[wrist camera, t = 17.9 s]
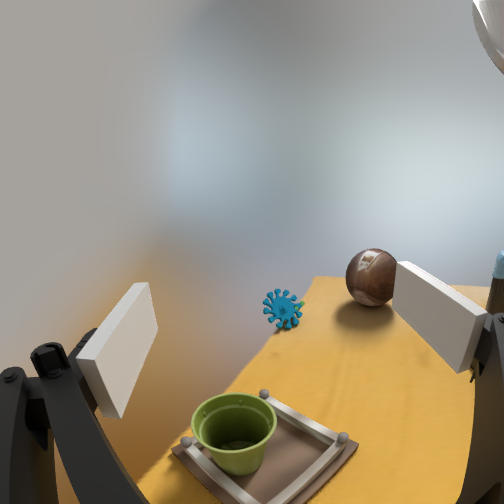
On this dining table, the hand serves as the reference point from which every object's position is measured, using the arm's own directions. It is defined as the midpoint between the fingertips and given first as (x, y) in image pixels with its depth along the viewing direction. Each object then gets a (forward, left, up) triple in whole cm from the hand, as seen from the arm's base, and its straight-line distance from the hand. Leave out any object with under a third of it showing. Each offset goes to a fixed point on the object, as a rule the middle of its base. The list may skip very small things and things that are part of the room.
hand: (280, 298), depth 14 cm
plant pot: (+9, -3, -28) cm, 29 cm away
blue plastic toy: (+31, -36, -29) cm, 56 cm away
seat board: (+8, -5, -28) cm, 30 cm away
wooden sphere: (+19, -57, -29) cm, 67 cm away
